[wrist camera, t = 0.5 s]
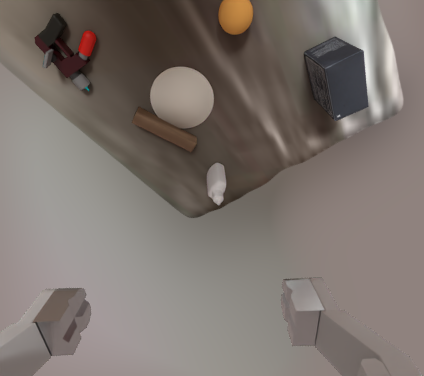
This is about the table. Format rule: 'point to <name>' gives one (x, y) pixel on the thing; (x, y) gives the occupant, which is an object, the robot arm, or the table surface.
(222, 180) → the eye dropper bottle
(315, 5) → the table surface
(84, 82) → the toy gun
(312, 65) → the small box
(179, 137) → the rail
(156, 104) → the white flat disc
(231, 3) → the ball
